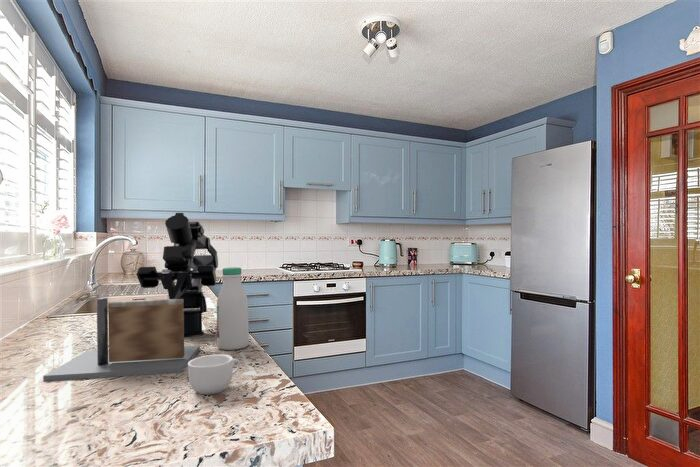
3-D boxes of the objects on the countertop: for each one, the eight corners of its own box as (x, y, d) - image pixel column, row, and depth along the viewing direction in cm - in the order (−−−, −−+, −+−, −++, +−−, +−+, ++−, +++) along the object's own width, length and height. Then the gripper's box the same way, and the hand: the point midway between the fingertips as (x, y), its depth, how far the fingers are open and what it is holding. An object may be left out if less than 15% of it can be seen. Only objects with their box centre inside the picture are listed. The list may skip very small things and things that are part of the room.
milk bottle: (255, 344, 107) (253, 266, 107) (234, 352, 100) (233, 269, 100) (231, 341, 111) (230, 266, 111) (210, 349, 104) (209, 268, 104)
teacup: (201, 402, 70) (201, 370, 70) (180, 391, 75) (179, 361, 75) (251, 385, 78) (251, 356, 78) (229, 376, 83) (228, 349, 83)
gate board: (200, 349, 104) (199, 345, 104) (181, 372, 86) (181, 367, 86) (87, 355, 100) (87, 351, 100) (43, 380, 82) (43, 375, 82)
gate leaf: (108, 362, 89) (108, 302, 89) (112, 360, 90) (111, 301, 90) (182, 358, 91) (181, 299, 91) (184, 356, 92) (183, 298, 92)
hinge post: (107, 361, 91) (106, 297, 91) (109, 364, 89) (108, 298, 89) (96, 363, 89) (96, 298, 89) (98, 365, 88) (97, 299, 88)
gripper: (138, 235, 107) (121, 283, 96) (213, 234, 110) (206, 280, 99) (149, 264, 115) (134, 311, 104) (219, 262, 117) (212, 308, 106)
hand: (171, 302), depth 103 cm, fingers closed
